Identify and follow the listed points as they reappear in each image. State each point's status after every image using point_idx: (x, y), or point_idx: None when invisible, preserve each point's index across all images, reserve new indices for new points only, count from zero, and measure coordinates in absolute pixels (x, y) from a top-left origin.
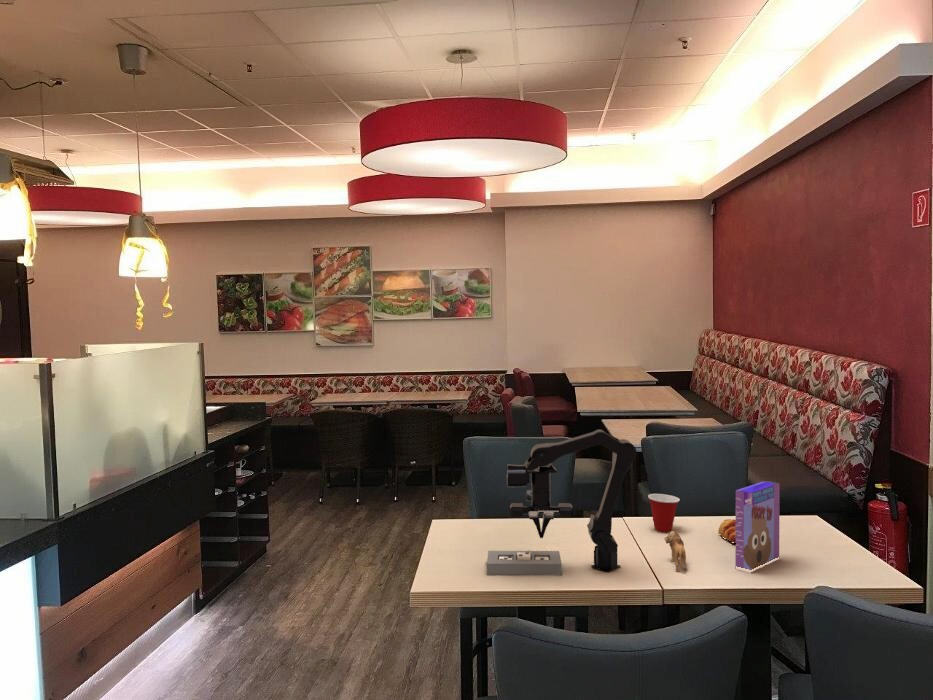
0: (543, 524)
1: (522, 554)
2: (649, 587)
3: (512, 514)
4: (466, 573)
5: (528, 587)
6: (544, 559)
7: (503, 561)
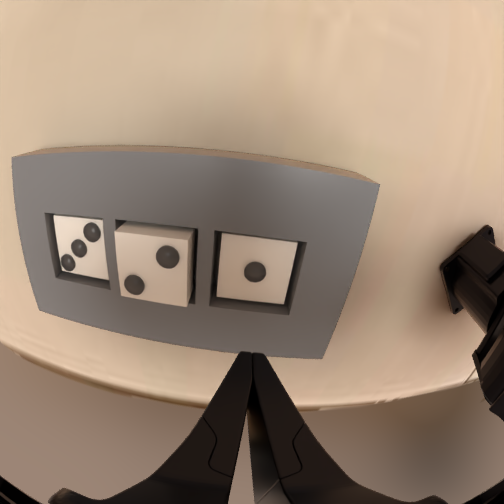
0: (258, 498)
1: (143, 269)
2: (455, 380)
3: (7, 493)
4: (14, 265)
5: (188, 388)
6: (266, 278)
7: (79, 303)
